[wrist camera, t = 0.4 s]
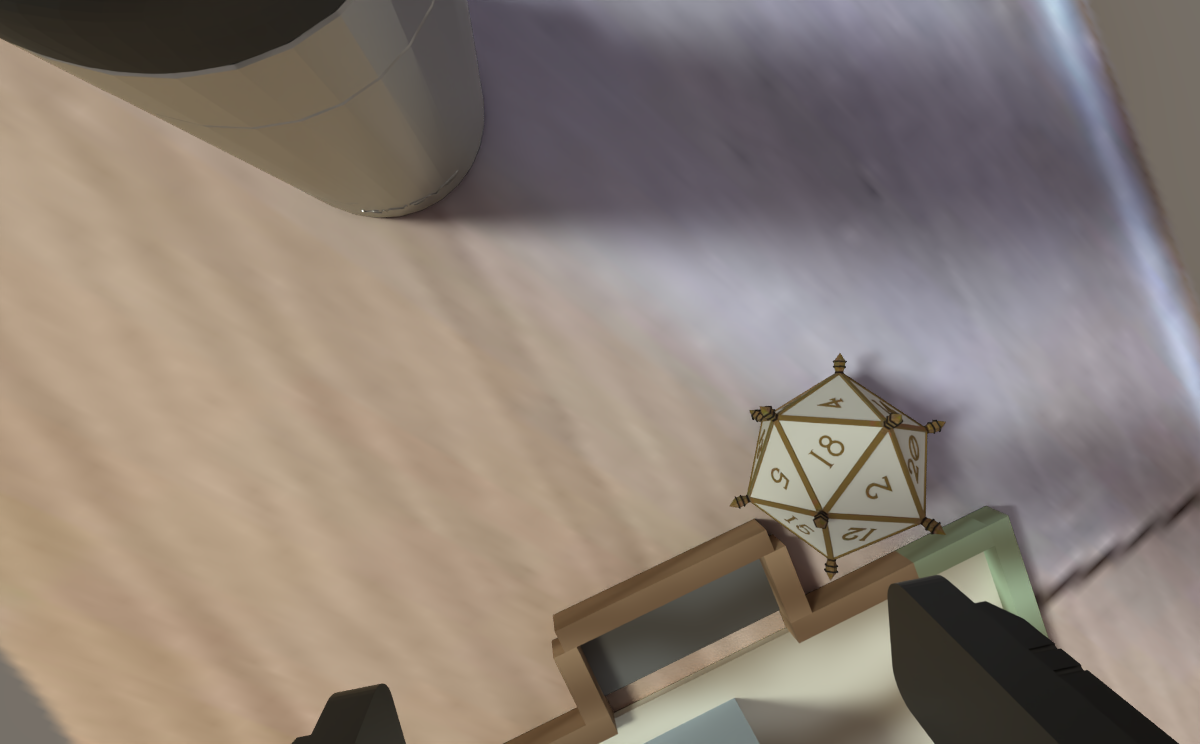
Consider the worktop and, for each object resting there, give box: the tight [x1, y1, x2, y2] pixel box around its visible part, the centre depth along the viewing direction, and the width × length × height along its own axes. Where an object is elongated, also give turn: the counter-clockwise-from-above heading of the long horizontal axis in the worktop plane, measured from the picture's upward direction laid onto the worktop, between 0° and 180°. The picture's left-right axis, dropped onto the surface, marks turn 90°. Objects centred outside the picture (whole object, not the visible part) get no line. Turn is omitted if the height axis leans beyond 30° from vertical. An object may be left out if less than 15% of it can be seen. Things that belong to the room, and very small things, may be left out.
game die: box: [730, 353, 946, 581], centre depth 27 cm, size 9×8×10 cm
